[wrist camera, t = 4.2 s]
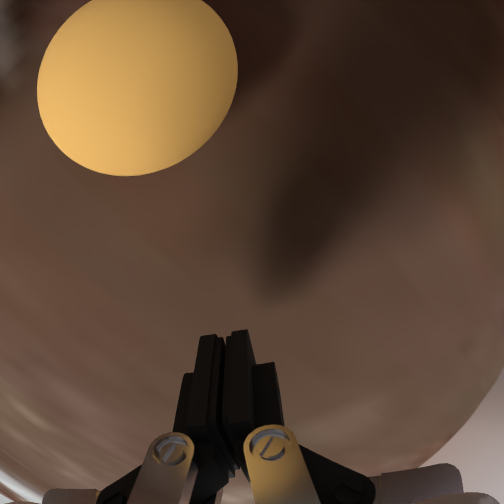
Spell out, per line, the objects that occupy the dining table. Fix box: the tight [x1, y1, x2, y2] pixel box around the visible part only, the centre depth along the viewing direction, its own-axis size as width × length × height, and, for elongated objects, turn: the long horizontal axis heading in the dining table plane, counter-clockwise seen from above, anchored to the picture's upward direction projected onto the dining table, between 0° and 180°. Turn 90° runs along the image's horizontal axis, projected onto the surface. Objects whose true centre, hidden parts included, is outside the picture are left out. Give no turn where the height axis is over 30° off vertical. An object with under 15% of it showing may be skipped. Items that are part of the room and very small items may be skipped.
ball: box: [37, 0, 238, 176], centre depth 7 cm, size 6×6×6 cm
